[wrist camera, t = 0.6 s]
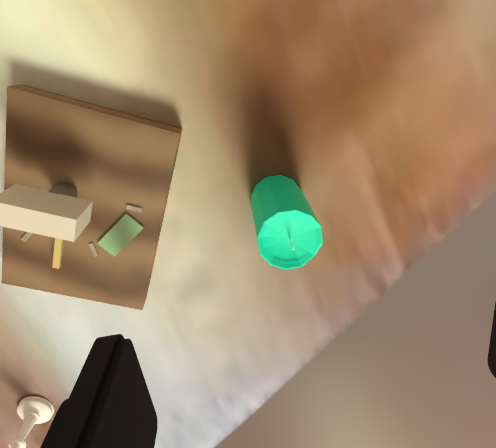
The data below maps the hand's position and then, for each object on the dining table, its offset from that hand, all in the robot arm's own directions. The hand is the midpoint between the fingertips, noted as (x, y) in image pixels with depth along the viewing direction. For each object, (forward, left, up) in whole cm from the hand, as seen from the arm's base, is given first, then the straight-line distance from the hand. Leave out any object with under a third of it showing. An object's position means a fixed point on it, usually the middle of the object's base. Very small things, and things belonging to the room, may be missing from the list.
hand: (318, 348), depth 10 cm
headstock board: (+13, -14, -33) cm, 39 cm away
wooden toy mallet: (+15, -16, -30) cm, 38 cm away
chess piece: (+47, -18, -33) cm, 61 cm away
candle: (+7, +6, -33) cm, 35 cm away
